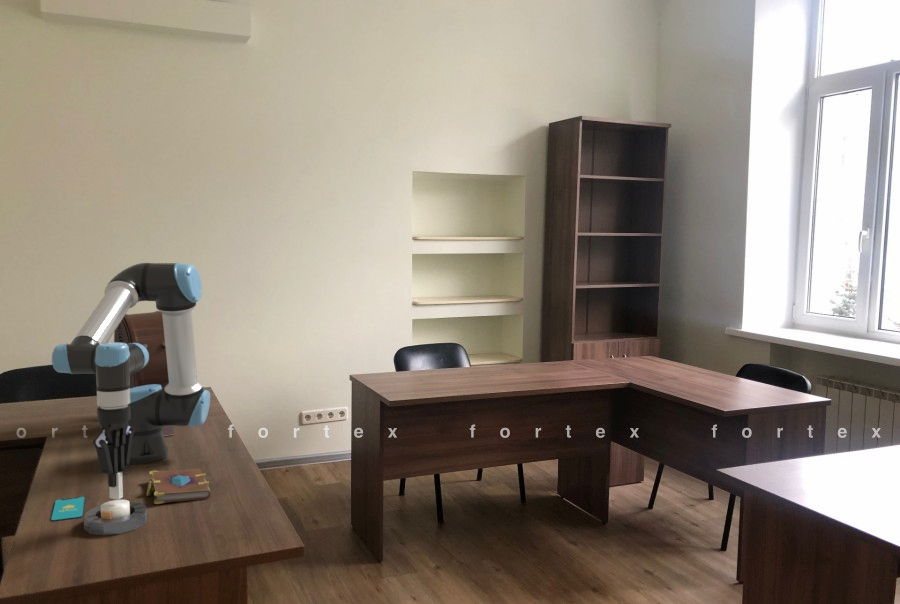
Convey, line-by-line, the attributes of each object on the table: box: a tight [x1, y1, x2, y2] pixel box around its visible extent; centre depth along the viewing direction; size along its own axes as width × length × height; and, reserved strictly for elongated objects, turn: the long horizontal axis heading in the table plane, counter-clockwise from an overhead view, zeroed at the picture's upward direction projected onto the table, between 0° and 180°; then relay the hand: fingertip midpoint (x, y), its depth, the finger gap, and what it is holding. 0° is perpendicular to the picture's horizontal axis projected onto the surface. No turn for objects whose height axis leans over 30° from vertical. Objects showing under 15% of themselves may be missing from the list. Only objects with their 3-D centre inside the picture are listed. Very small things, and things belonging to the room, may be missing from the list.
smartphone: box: [50, 496, 86, 522], centre depth 190 cm, size 7×1×15 cm
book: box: [146, 468, 211, 505], centre depth 207 cm, size 16×25×5 cm, turn 26°
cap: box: [100, 499, 130, 519], centre depth 181 cm, size 8×7×5 cm
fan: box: [113, 310, 175, 435], centre depth 268 cm, size 41×18×44 cm, turn 34°
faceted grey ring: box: [83, 501, 148, 536], centre depth 181 cm, size 14×14×3 cm
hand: (116, 497), depth 181 cm, fingers closed
